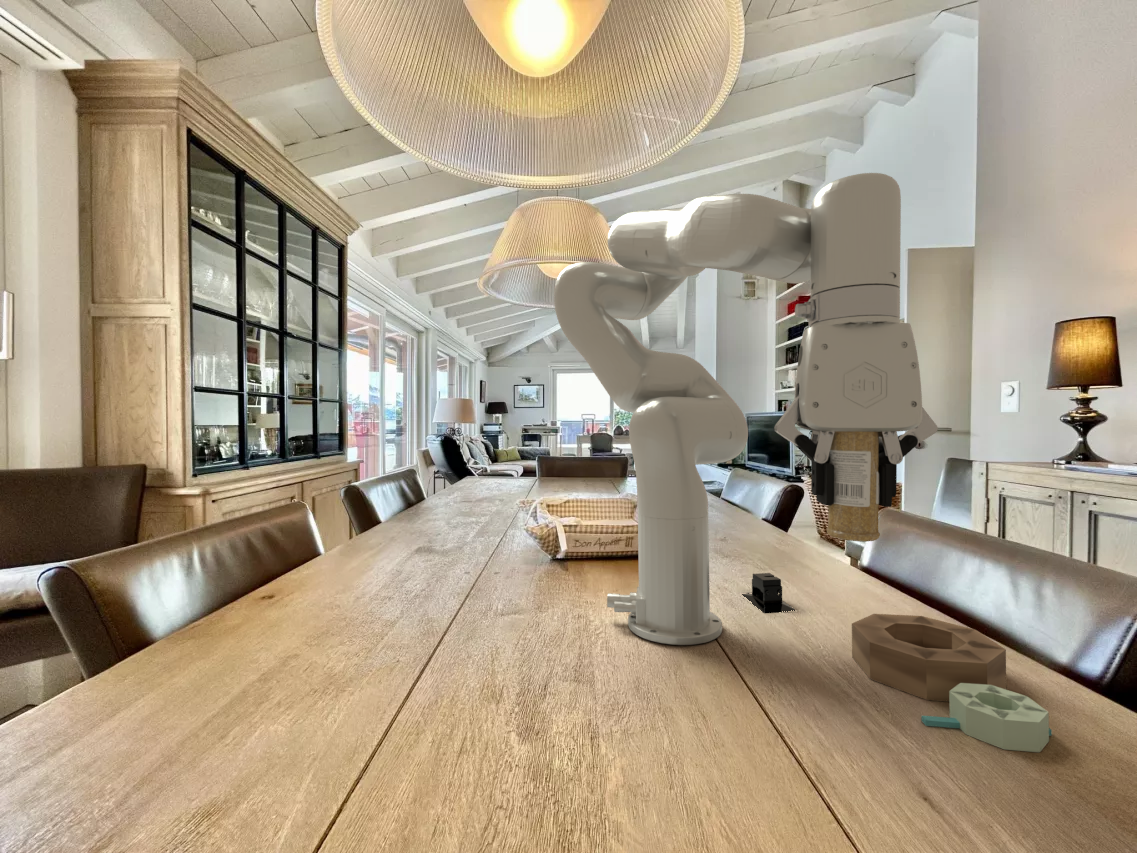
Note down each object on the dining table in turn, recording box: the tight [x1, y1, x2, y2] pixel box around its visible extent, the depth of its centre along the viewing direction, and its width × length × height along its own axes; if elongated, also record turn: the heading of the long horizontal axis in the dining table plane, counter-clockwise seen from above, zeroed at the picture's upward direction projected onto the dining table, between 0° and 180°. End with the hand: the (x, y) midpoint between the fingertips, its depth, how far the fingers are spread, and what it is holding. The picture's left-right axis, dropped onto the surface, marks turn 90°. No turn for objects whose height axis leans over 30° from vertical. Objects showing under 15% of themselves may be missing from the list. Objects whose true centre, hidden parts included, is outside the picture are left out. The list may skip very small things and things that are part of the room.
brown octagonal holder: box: [851, 613, 1007, 703], centre depth 58 cm, size 13×13×4 cm
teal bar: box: [920, 714, 1053, 737], centre depth 47 cm, size 10×1×1 cm, turn 80°
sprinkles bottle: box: [826, 431, 881, 543], centre depth 50 cm, size 5×5×14 cm
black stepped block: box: [742, 572, 796, 614], centre depth 81 cm, size 12×7×5 cm, turn 6°
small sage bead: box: [949, 683, 1050, 753], centre depth 47 cm, size 6×6×2 cm
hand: (852, 501), depth 50 cm, fingers closed on sprinkles bottle, 4 cm apart
